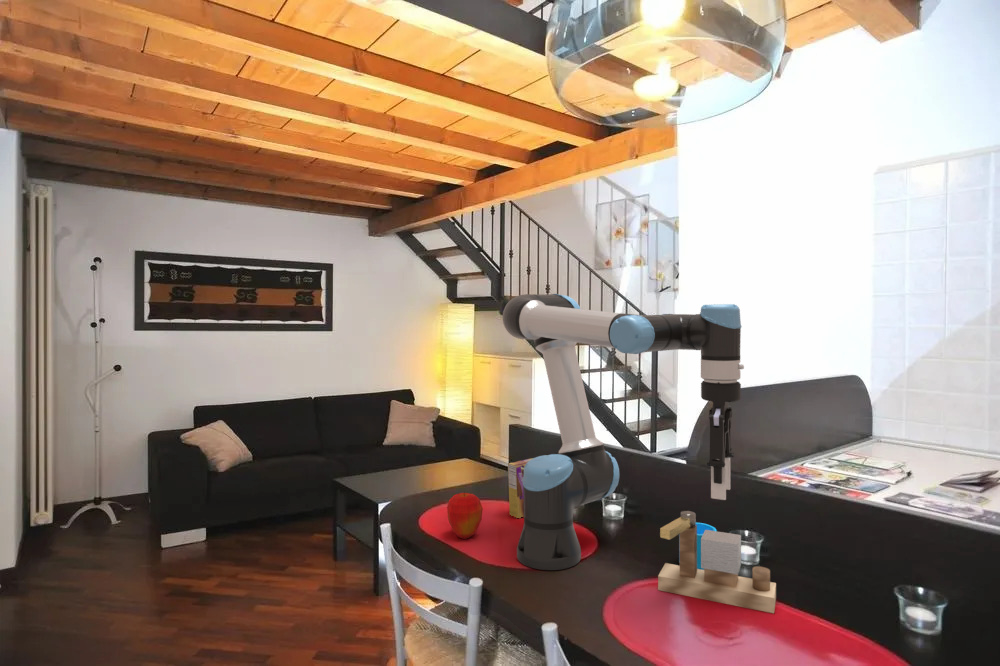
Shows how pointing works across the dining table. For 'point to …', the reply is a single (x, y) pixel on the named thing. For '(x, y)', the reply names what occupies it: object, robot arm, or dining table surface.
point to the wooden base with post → (716, 580)
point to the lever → (678, 525)
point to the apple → (464, 514)
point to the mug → (700, 532)
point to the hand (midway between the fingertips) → (720, 493)
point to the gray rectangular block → (721, 551)
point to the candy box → (516, 488)
